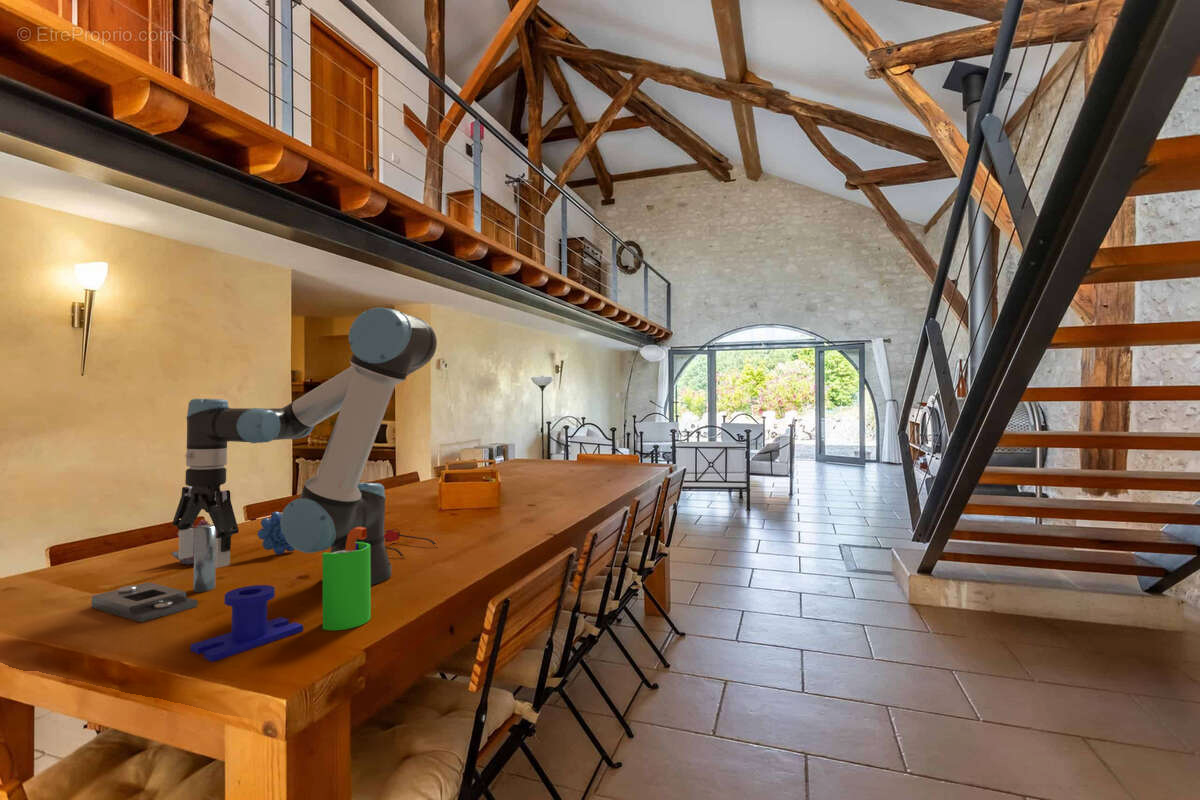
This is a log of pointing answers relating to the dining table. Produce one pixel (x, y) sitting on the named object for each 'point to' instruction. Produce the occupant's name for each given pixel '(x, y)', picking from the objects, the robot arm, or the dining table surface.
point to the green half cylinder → (347, 584)
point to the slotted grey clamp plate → (143, 601)
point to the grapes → (274, 534)
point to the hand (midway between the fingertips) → (203, 562)
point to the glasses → (394, 536)
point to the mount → (247, 624)
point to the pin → (204, 558)
